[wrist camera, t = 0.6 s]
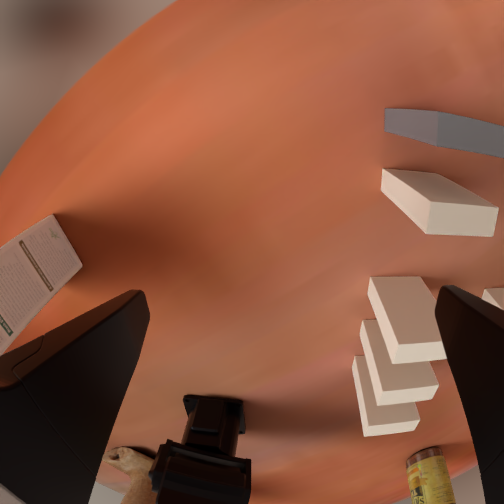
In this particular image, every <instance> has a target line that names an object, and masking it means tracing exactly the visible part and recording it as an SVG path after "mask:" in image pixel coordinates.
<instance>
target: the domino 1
mask: <svg viewBox="0 0 504 504" xmlns="http://www.w3.org/2000/svg"><path fill="white" fill-rule="evenodd" d="M352 371H353V376H354V381H355V387H356V392H357V398H358V403H359V409H360V415H361V421H362V427H363V434H364V437H365V436H376V435H385V434H393V433H401V432H408V431H414V430H415V428H416V426H417V425H418V423H419V421H420V416H419V413H418V410H417V407H416V404H415V402H408V403H400V404H391V405H380V406H377V403H376V398H375V394H374V390H373V385H372V381H371V377H370V373H369V369H368V365H367V361H366V357H365V355H364V356H355V357H354V361H353V365H352Z"/></svg>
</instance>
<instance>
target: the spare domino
mask: <svg viewBox="0 0 504 504" xmlns="http://www.w3.org/2000/svg"><path fill="white" fill-rule="evenodd" d="M481 299H483V300H485V301H487V302H489V303H491V304H493V305H495V306H497V307H499V308H500V309H502V310H504V288H486V289H484V292H483V295H482V298H481Z"/></svg>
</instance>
